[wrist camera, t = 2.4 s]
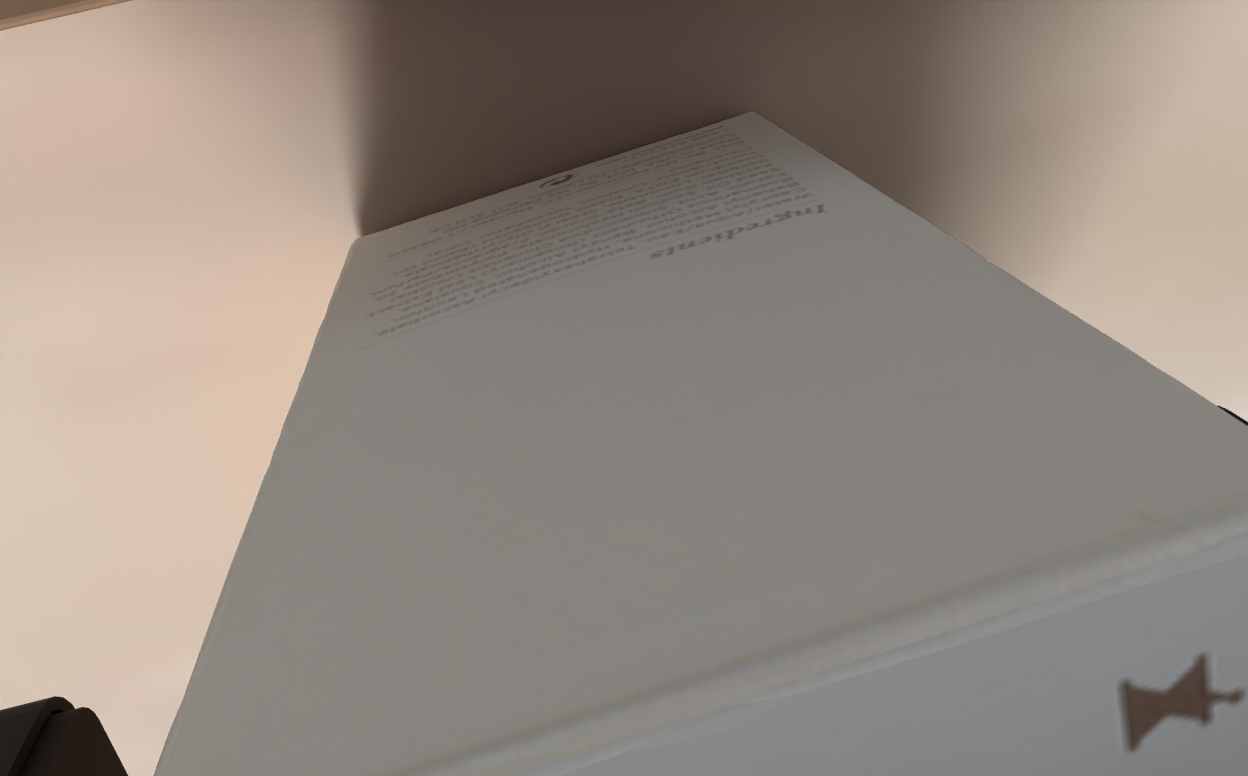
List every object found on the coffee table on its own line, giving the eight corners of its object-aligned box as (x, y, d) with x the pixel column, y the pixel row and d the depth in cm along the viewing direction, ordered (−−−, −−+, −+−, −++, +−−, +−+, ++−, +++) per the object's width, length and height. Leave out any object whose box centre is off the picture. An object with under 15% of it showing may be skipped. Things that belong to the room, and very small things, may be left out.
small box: (347, 230, 14) (38, 884, 4) (760, 99, 14) (1391, 451, 4) (539, 701, 17) (613, 1687, 7) (875, 594, 17) (1387, 1439, 7)
